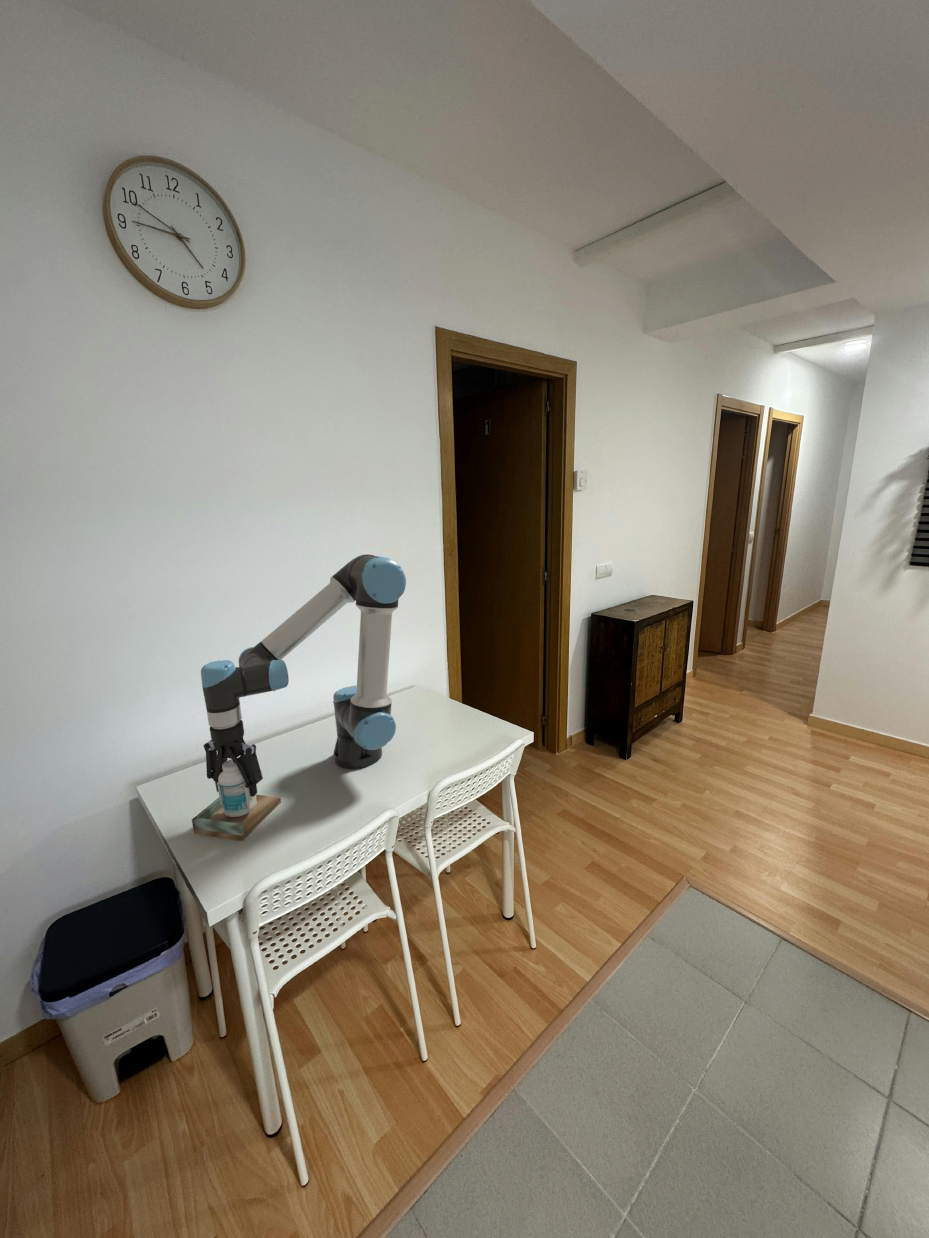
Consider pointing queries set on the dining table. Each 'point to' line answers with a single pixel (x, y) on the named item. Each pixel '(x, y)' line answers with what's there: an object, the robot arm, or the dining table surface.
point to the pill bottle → (233, 790)
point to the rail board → (233, 819)
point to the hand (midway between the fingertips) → (238, 804)
